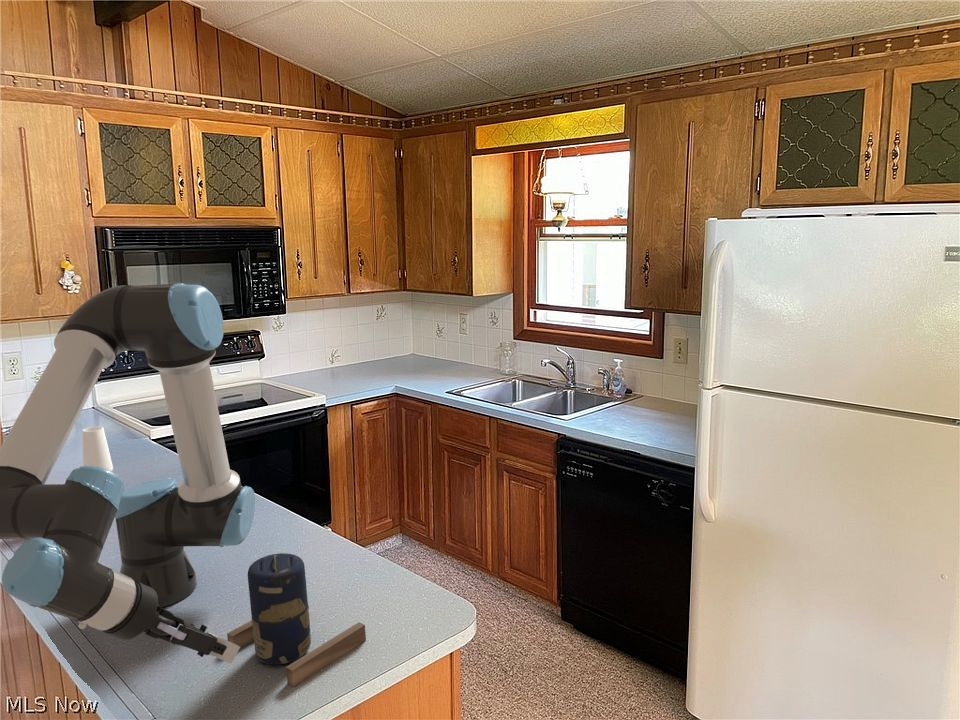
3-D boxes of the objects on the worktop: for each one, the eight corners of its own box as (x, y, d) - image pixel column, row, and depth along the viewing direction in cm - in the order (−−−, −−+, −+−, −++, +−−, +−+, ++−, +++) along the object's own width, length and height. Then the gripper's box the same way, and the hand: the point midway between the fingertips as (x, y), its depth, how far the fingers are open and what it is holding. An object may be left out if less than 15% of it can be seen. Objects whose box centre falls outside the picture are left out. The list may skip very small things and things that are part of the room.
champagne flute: (124, 512, 186) (113, 425, 182) (109, 522, 180) (97, 432, 175) (100, 511, 187) (89, 425, 183) (84, 522, 181) (71, 432, 176)
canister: (316, 635, 128) (309, 544, 124) (305, 668, 118) (297, 570, 115) (263, 638, 128) (255, 546, 124) (248, 670, 118) (238, 572, 115)
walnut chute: (228, 648, 125) (227, 633, 124) (301, 608, 137) (299, 594, 136) (293, 687, 114) (292, 670, 113) (365, 640, 126) (364, 625, 125)
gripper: (79, 615, 101) (197, 662, 117) (123, 647, 93) (244, 691, 109) (112, 567, 104) (223, 618, 120) (157, 593, 96) (269, 644, 112)
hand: (233, 653), depth 115 cm, fingers closed
